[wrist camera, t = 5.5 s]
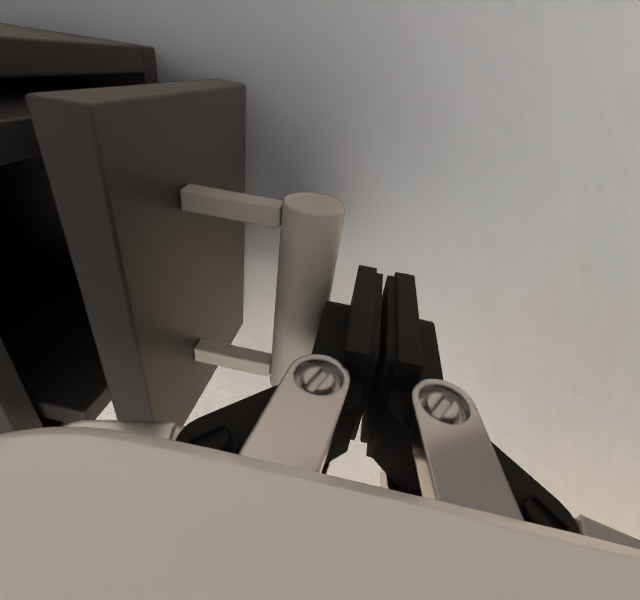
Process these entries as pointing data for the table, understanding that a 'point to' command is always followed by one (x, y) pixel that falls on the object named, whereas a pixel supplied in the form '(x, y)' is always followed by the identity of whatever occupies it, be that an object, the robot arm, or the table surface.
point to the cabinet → (78, 64)
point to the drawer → (142, 246)
